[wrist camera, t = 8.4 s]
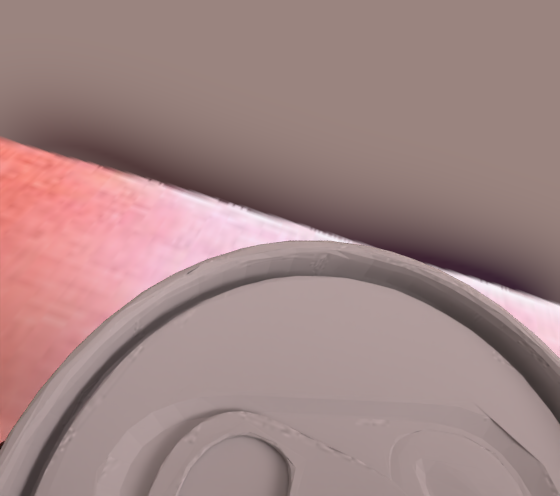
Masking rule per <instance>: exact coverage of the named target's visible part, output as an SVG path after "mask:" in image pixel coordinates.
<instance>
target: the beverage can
mask: <svg viewBox="0 0 560 496" xmlns="http://www.w3.org/2000/svg"><path fill="white" fill-rule="evenodd" d="M0 496H560V358H559V357H558V356H557V355H556V354H555V353H554V352H553V351H552V350H551V349H550V348H549V347H548V346H547V345H546V344H545V343H544V342H543V341H542V340H541V339H540V338H538V337H537V336H536V335H535V334H534V333H533V332H532V331H530V330H529V329H528V328H527V327H525V326H524V325H523V324H522V323H521V322H519V321H518V320H517V319H516V318H514V317H513V316H512V315H511V314H510V313H508V312H507V311H506V310H505V309H503V308H502V307H501V306H500V305H498V304H497V303H495V302H494V301H492V300H490V299H489V298H487V297H486V296H484V295H483V294H481V293H480V292H478V291H477V290H475V289H474V288H472V287H471V286H469V285H468V284H466V283H464V282H462V281H460V280H458V279H456V278H454V277H452V276H450V275H449V274H447V273H445V272H443V271H441V270H439V269H436V268H434V267H431V266H429V265H427V264H424V263H422V262H419V261H417V260H414V259H411V258H408V257H405V256H402V255H400V254H397V253H394V252H391V251H387V250H382V249H378V248H374V247H370V246H365V245H357V244H349V243H342V242H334V241H284V242H277V243H269V244H261V245H256V246H251V247H247V248H242V249H239V250H236V251H232V252H229V253H226V254H223V255H220V256H216V257H213V258H210V259H207V260H205V261H202V262H200V263H198V264H196V265H193V266H191V267H189V268H186V269H184V270H182V271H180V272H177V273H175V274H173V275H172V276H170V277H168V278H166V279H164V280H163V281H161V282H159V283H157V284H156V285H154V286H152V287H150V288H149V289H147V290H145V291H143V292H142V293H141V294H139V295H138V296H137V297H135V298H134V299H133V300H131V301H130V302H129V303H127V304H126V305H125V306H123V307H122V308H121V309H120V310H118V311H117V312H116V313H114V314H113V315H112V316H110V317H109V318H108V319H106V320H105V321H104V322H103V323H102V324H101V325H100V326H99V327H98V328H97V329H96V330H94V331H93V332H92V333H91V334H90V335H89V336H88V337H87V338H86V339H85V340H84V341H83V342H82V343H81V344H80V345H79V346H78V347H77V348H76V349H75V350H74V351H73V352H72V353H71V354H70V355H69V356H68V357H67V358H66V360H65V361H64V362H63V363H62V364H61V365H60V367H59V368H58V369H57V370H56V371H55V373H54V374H53V375H52V376H51V377H50V378H49V380H48V381H47V382H46V383H45V384H44V385H43V387H42V388H41V389H40V390H39V392H38V393H37V394H36V396H35V397H34V399H33V400H32V402H31V403H30V404H29V406H28V407H27V409H26V410H25V412H24V413H23V414H22V416H21V417H20V419H19V420H18V422H17V423H16V424H15V426H14V427H13V429H12V430H11V432H10V433H9V435H8V437H7V439H6V440H5V442H4V444H3V446H2V448H1V450H0Z"/></svg>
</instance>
